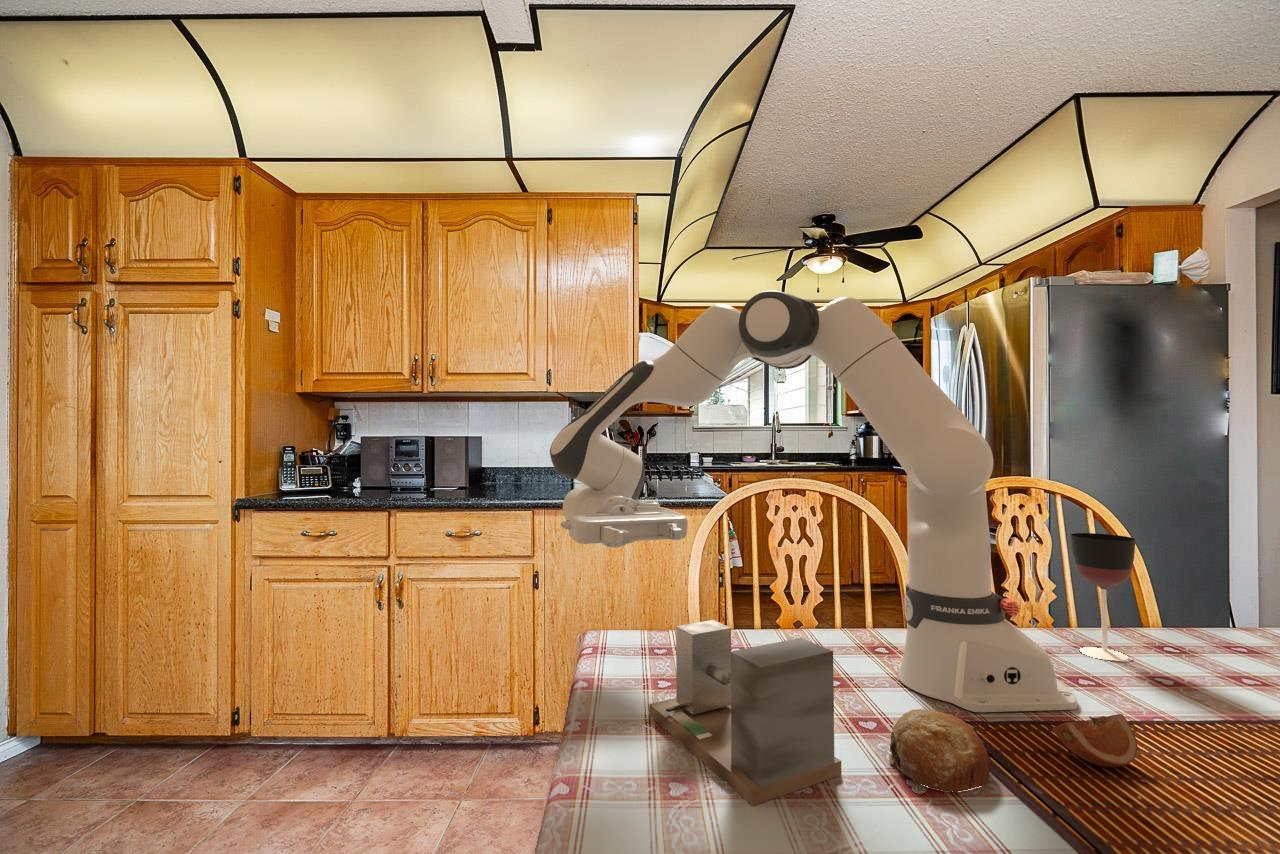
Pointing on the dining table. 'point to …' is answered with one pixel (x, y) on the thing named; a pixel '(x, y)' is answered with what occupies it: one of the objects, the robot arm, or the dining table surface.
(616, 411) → the robot arm
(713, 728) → the base
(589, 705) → the dining table surface
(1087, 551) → the wineglass
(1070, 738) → the fruit slice
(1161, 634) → the dining table surface
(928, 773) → the bread roll
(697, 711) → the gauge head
